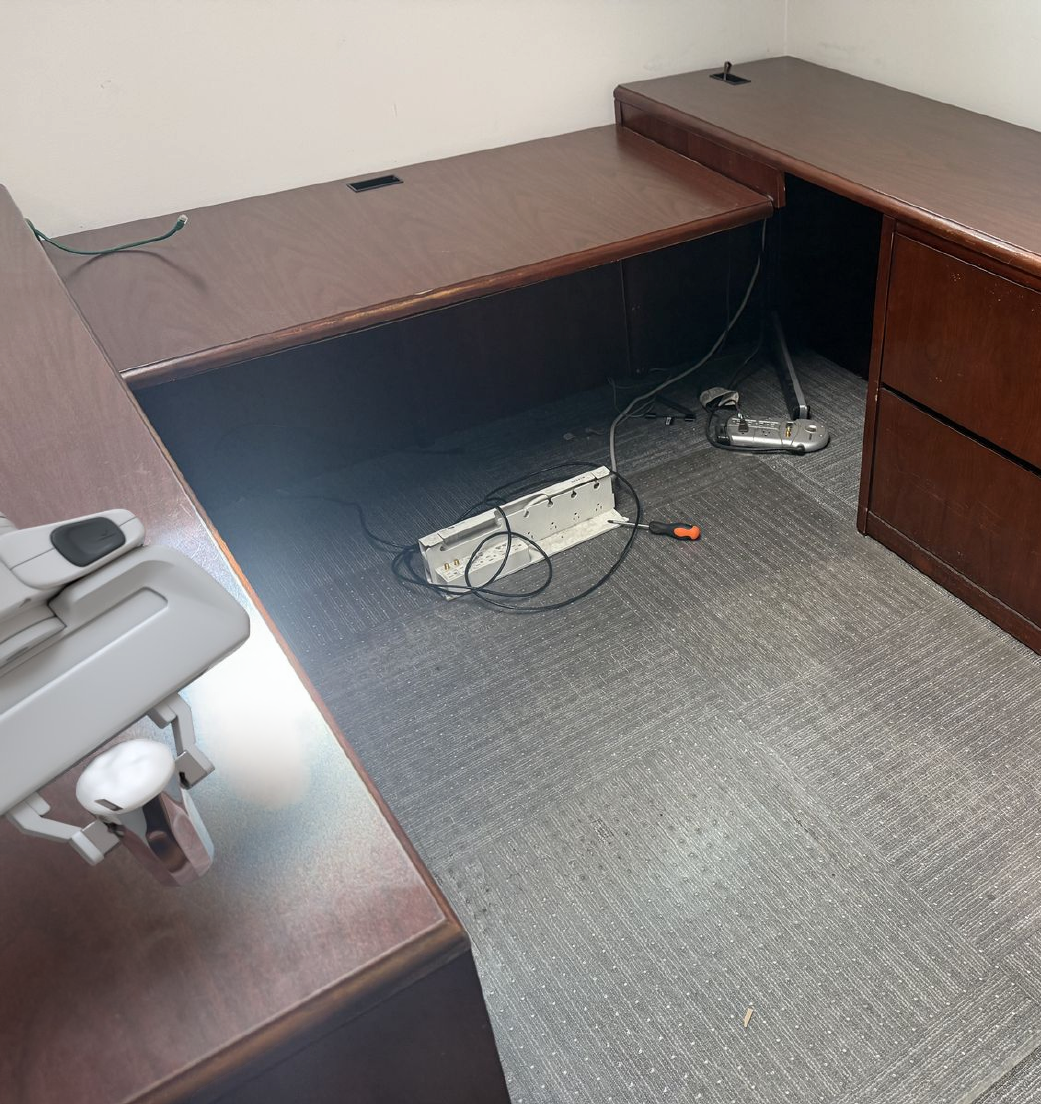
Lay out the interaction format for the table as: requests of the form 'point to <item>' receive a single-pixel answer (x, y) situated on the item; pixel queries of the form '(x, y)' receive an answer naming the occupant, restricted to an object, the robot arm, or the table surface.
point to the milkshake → (148, 809)
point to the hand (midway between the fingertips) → (157, 815)
